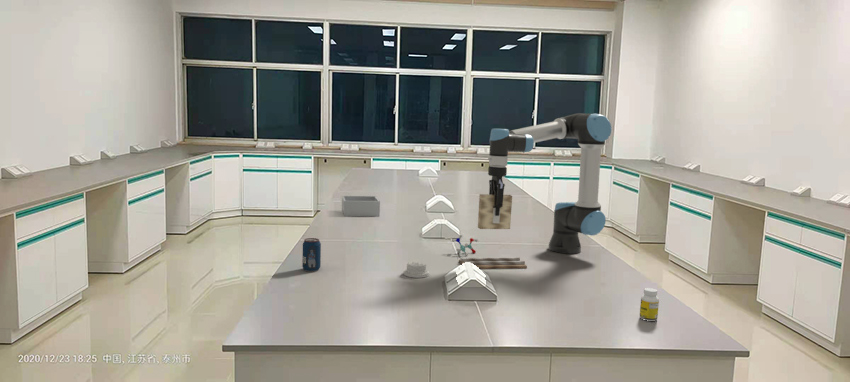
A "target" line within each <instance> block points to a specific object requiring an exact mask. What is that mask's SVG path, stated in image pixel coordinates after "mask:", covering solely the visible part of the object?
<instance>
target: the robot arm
mask: <svg viewBox="0 0 850 382" xmlns="http://www.w3.org/2000/svg"><path fill="white" fill-rule="evenodd" d="M611 133H612V124H611V122H610V120H609V119H608V117H607V116H606V115H603V114H599V113H574V114H570V115H566V116H561V117H558V118H555V119H554V120H553V121H549V122H545V123H541V124H536V125H535V124H534V125H531V126H526V127H521V128H517V129H512V130H510V129H508V128H491V130H490V134H489V135H490V136H489V155H488V156H489V157H488V158H487V160H488V169H487V170H488V172H487V174H488V176H490V177H491V179H489V181H488V183H489V190H488V194H492V195H495V197H494V206H493V223H499V221H500V208H501V207H502V206H503V195H504V191H505V186H506V185H505V183H504V182H503V178H504V177H506V176H507V170H508V169H507V166H508V158H509V153H530V152H531V151H532V150H533V149H534V145H535V143H540V142H543V141H549V140H553V139H558V140H561V139H562V140H563V139H574V140H575V139H576V140H577V145H578V146H579V147H580V159H579V160H580V161H579V162H580V163H579V164H580V165H579V179H578V181H579V182H578V195H577V196H578V197H577V198H578V199H577V201H568V202H567V201H566V202H564V201H563V202H562V201H561V202H557V203H555V206H554V212H553V213H554V214H553V215H554V216H553V231H552V234H551V237H550V239H549V243H548V247H547V248H548V249H547V250H549V251H551V252H554V253H559V254H560V253H561V254H579V253H581V252H582V245H581V242H580V237H579V234H582V235H584V236H590V237H591V236H597V235H598V234H599V233H601V231H603V229H604V228H605V225H606V220H607V217H606V215H605V214H604V212H602V211H601V210H602V205H601V204H600V202H599V188H600V187H599V186H600V170H601V157H602V148H603V147H605V145H606V141H607V140H608V139H609V137H610V136H611V135H612V134H611Z"/></svg>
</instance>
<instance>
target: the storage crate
mask: <svg viewBox="0 0 850 382" xmlns="http://www.w3.org/2000/svg"><path fill="white" fill-rule="evenodd" d="M380 208H381V201H380V200H379V198H378V197H377V196H376V195H375V196H374V195H341V212H343V213H342V215H343V217H380V212H381V209H380Z"/></svg>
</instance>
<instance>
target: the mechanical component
mask: <svg viewBox="0 0 850 382" xmlns="http://www.w3.org/2000/svg"><path fill="white" fill-rule="evenodd" d="M429 275H430V271H429V270H428V269H427V264H426V263H423V262H420V261H412V262H408V263H407V264H406V268H405V269H404V270H403V276H405V277H409V278H413V279H414V278H417V279H418V278H419V279H420V278H427V277H429Z"/></svg>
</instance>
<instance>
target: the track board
mask: <svg viewBox="0 0 850 382" xmlns="http://www.w3.org/2000/svg"><path fill="white" fill-rule="evenodd" d="M458 262H459V263H460V264H461V265H462V263H465V262H471V263H473V264H474V265H476V266H477V267H479V268H481V269H480V270H486V269H488V270H492V269H494V270H495V269H496V270H497V269H499V270H502V269H504V270H505V269H508V270H509V269H527V268H528V265H527V264H526V261H524V260H521V258H520V257H461V258H460V259H458Z"/></svg>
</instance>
